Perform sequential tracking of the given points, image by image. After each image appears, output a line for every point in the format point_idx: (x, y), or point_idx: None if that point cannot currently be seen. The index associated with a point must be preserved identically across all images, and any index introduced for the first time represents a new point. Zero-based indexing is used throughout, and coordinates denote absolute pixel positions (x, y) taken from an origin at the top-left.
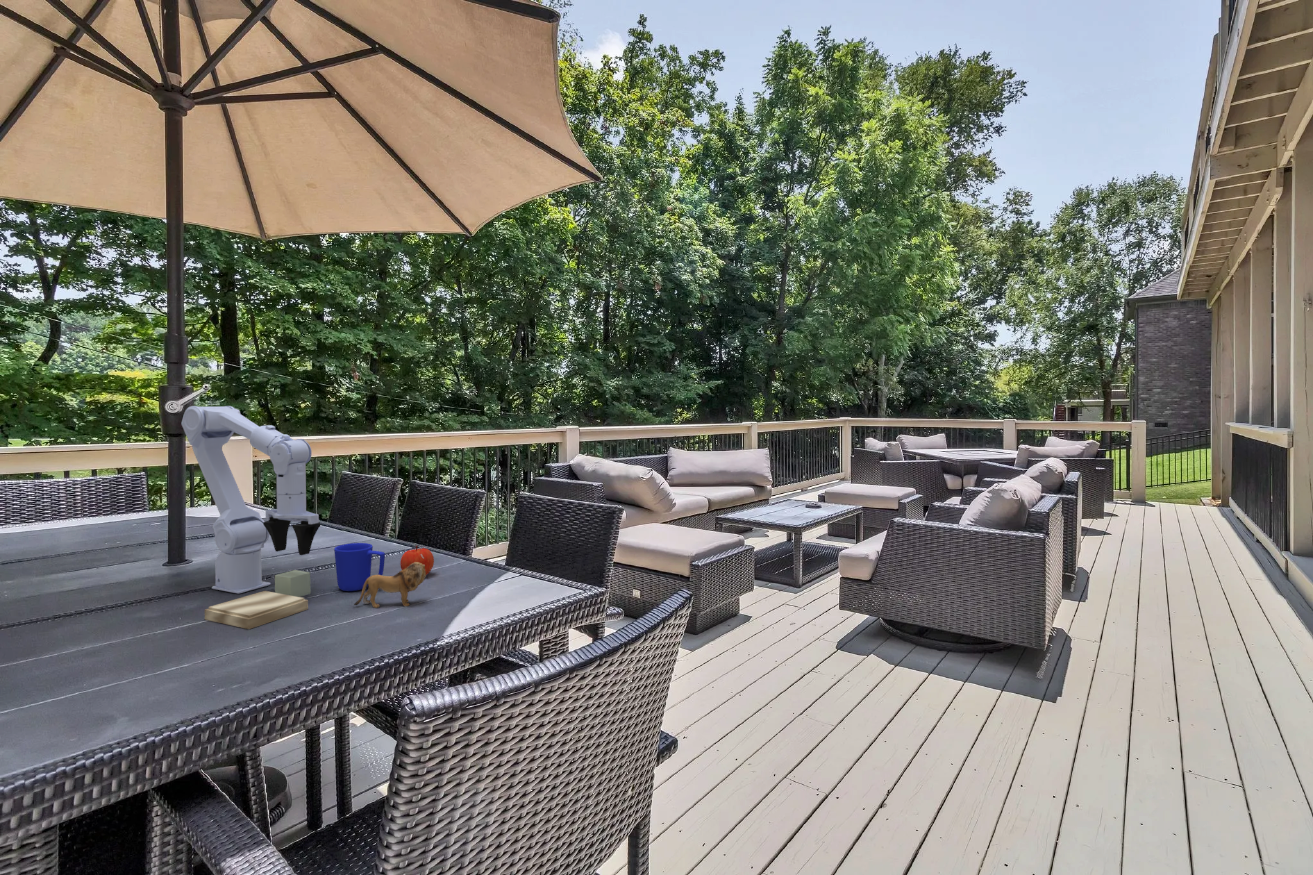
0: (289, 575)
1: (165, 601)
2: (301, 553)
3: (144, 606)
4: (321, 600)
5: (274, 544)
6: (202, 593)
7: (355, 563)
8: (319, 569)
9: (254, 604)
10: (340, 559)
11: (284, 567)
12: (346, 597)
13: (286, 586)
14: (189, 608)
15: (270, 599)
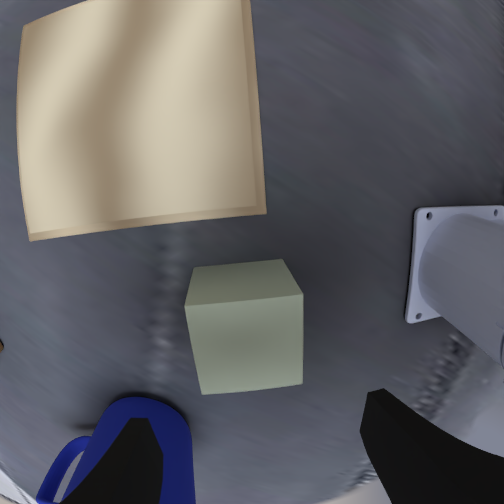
0: (234, 328)
1: (495, 82)
2: (126, 425)
3: (489, 40)
4: (99, 313)
5: (403, 414)
6: (492, 168)
7: (76, 467)
8: None
9: (103, 74)
10: None
11: (469, 398)
12: (76, 362)
13: (216, 284)
14: (401, 46)
15: (109, 145)
